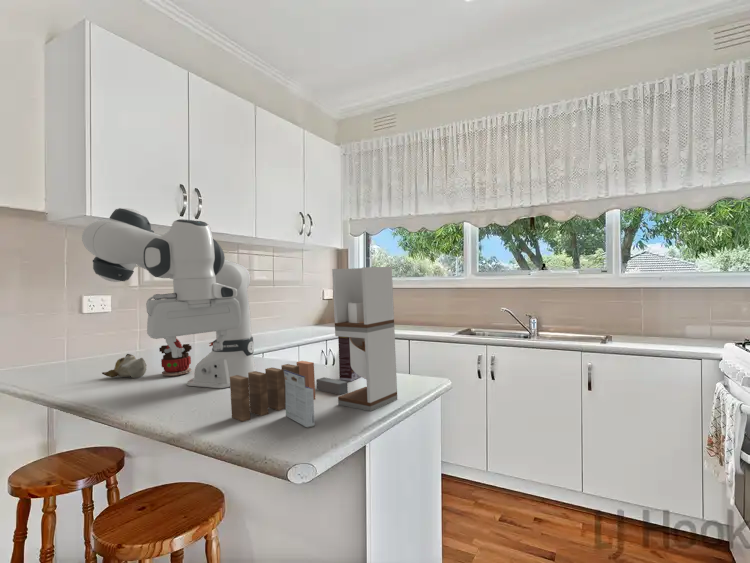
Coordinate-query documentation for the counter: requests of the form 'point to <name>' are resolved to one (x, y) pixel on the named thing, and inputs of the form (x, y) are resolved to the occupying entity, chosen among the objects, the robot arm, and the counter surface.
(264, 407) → the domino
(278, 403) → the domino
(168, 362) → the santa mouse candy apple
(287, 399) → the ink box
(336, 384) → the block
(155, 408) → the counter surface
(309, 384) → the end domino
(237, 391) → the domino
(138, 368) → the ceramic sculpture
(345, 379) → the supplement box
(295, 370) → the domino
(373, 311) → the white tower
